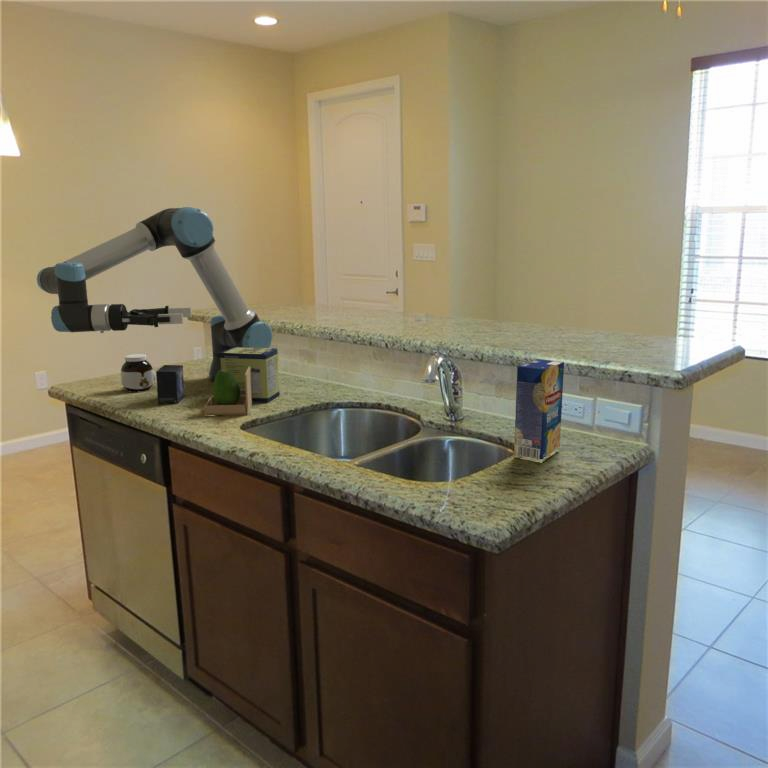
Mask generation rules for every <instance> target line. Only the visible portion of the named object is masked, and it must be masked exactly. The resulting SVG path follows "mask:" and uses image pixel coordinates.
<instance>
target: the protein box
mask: <svg viewBox="0 0 768 768" xmlns="http://www.w3.org/2000/svg"><path fill="white" fill-rule="evenodd" d="M278 357H279V356H278V348H274V347H273V348H272V347H269V348H239V347H233V348H231V349H228V350H226V351H223V352H220V359H221V369H228V370H230V371H231V373H232V374H233V375H234V377H235V379H236V381H237V383H238V385H239V387H240V396H246V388H245V373H246V371H247V369H248V367H250V371H251V392H252V403H260V404H263V403H265V404H268V403H270V402H271V401H273V400H274V399H276V398H278V397H279V396H280V395H281V394H280V380H279V379H280V378H279V375H280V374H279V361H278V360H279V358H278Z"/></svg>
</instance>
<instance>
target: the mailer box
mask: <svg viewBox="0 0 768 768" xmlns="http://www.w3.org/2000/svg"><path fill="white" fill-rule="evenodd" d="M245 388H246V396H240V397H239V400H238V402H237V403H236V405H217V404H216V402H215V400H214V397H213V396H210V397H209V399H208V400H207V402H206V403H205V404H204V406H203V407H204V416H205V415H232V416H249V414H250V412H251V409H252V407H253V402H252V392H251V371H250V367H248V369H247V371H246V373H245Z"/></svg>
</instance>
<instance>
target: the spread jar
mask: <svg viewBox="0 0 768 768" xmlns="http://www.w3.org/2000/svg"><path fill="white" fill-rule="evenodd" d="M124 361H125V362H123V364H122V366H121V369H120V376H121V377H120V378H121V384H122V387H123V388H124V389H125V390H126V391H127V392H129V391H131V392H130V393H139V392H138V391H143V392H146V391H145V390H147V391H149V390H150V389H152V387H153V386H154V382H155V381H156V379H157V378H156V372H155V371H154V368H153V366H152V364H151V363H150V362H149V361H148V360H147V354H145V353H144V354H143V353H134V354H127V355H125V356H124Z"/></svg>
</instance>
